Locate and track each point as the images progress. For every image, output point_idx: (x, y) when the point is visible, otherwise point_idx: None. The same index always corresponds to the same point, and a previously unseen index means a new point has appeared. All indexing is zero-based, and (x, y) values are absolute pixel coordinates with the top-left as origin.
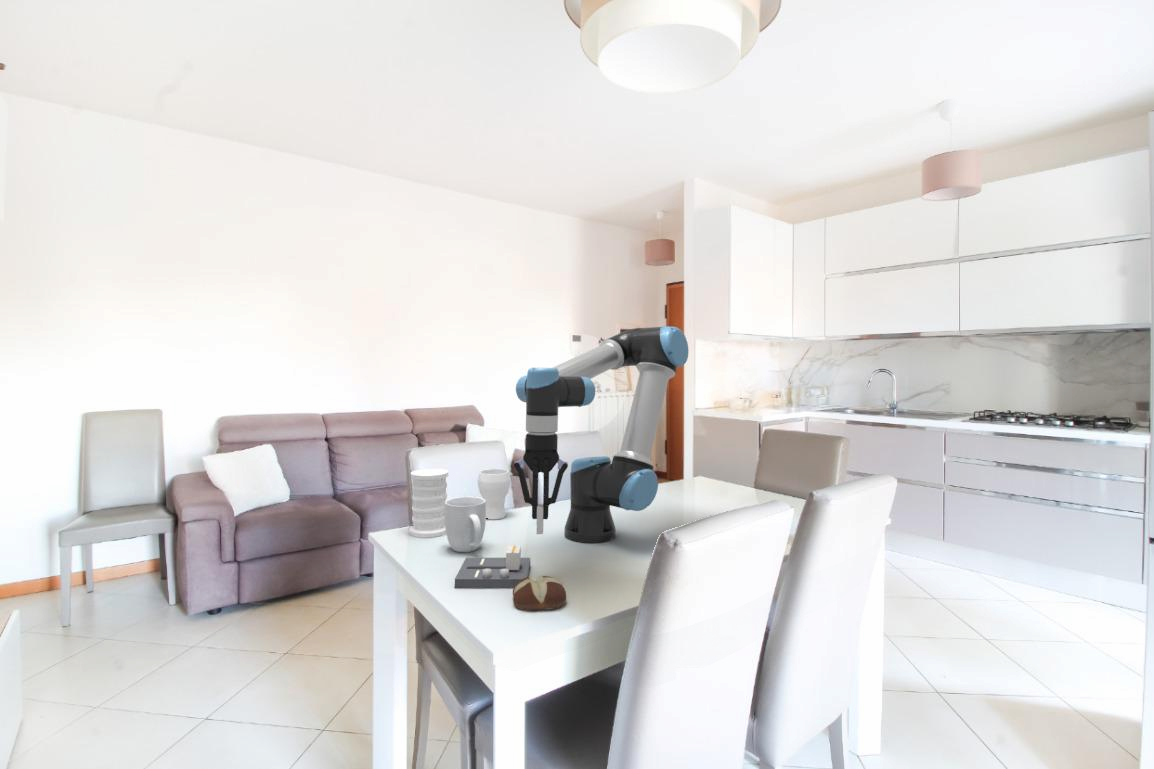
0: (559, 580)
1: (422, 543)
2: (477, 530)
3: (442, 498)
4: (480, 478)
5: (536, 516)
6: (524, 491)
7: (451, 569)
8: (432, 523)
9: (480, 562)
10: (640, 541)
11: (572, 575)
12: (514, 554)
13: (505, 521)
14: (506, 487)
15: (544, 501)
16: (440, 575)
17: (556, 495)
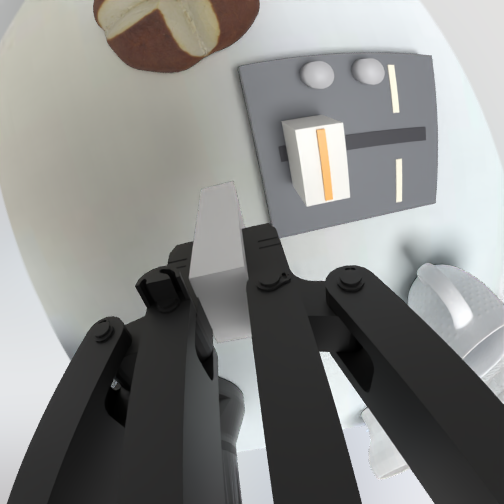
0: (112, 38)
1: (485, 283)
2: (443, 281)
3: (487, 375)
4: None
5: (245, 237)
6: (417, 342)
7: (447, 167)
8: None
9: (402, 174)
10: None
11: (134, 192)
12: (310, 125)
13: (360, 402)
14: (375, 453)
15: (178, 316)
16: (459, 130)
17: (70, 374)
